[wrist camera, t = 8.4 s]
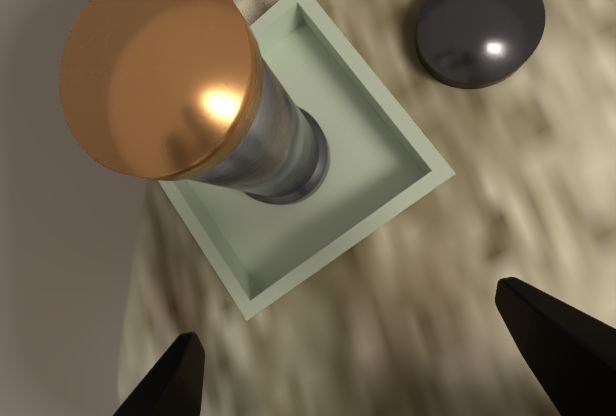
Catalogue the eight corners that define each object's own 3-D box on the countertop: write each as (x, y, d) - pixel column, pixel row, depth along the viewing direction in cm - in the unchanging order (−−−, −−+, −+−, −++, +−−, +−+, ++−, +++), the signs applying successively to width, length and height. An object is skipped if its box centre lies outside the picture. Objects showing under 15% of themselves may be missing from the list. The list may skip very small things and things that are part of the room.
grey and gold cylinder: (348, 140, 20) (303, 13, 8) (297, 223, 20) (178, 229, 8) (269, 95, 21) (119, -78, 9) (223, 175, 21) (19, 115, 9)
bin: (445, 179, 19) (455, 173, 16) (262, 309, 21) (246, 320, 18) (309, 9, 21) (300, -19, 18) (154, 142, 23) (127, 133, 20)
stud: (562, 37, 18) (573, 26, 17) (461, 111, 19) (466, 105, 18) (485, -45, 19) (491, -59, 18) (393, 30, 20) (393, 20, 19)
